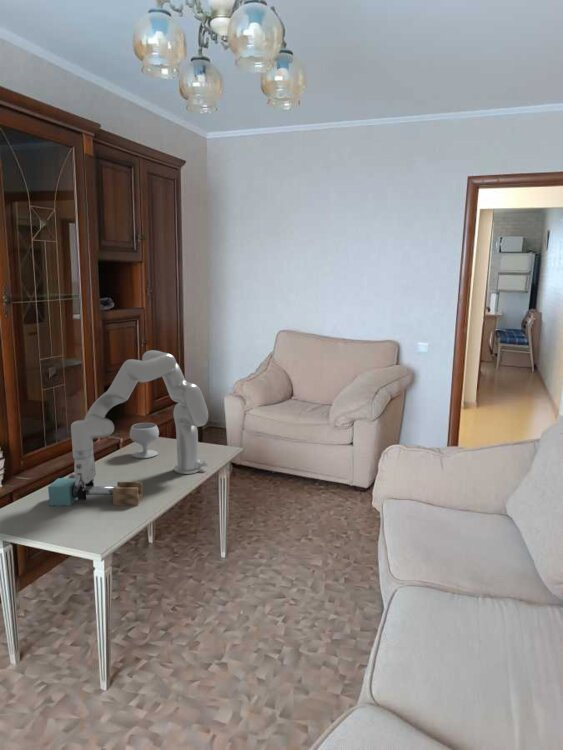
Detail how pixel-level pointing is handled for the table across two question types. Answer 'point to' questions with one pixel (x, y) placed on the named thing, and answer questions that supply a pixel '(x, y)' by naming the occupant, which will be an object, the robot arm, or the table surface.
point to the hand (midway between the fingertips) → (86, 495)
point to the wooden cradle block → (127, 493)
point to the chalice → (144, 438)
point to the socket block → (61, 492)
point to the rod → (94, 490)
